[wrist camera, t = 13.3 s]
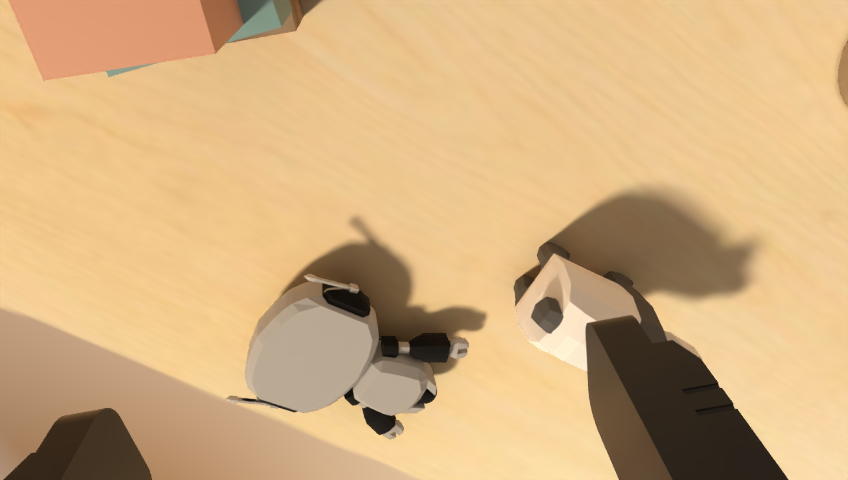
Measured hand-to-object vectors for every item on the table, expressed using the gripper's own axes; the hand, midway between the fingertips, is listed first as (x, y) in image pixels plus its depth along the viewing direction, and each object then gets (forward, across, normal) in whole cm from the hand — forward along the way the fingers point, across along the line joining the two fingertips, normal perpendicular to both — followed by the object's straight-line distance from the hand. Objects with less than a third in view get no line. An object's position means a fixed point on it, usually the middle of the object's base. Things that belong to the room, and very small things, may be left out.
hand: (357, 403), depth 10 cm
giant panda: (+31, -12, +21) cm, 39 cm away
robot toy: (+31, +6, +21) cm, 38 cm away
